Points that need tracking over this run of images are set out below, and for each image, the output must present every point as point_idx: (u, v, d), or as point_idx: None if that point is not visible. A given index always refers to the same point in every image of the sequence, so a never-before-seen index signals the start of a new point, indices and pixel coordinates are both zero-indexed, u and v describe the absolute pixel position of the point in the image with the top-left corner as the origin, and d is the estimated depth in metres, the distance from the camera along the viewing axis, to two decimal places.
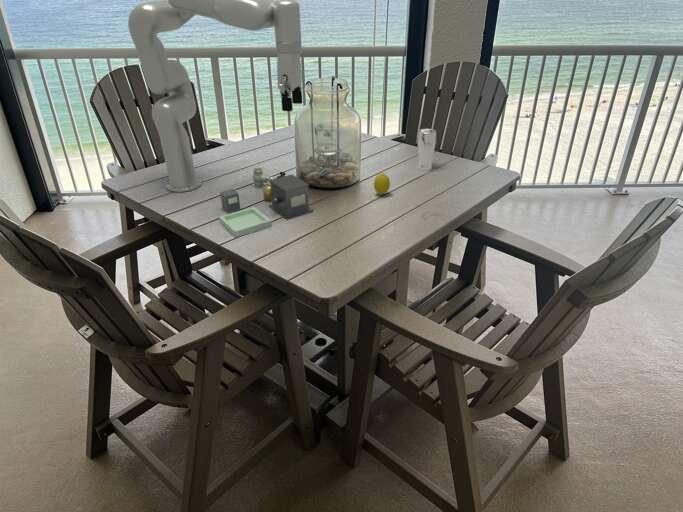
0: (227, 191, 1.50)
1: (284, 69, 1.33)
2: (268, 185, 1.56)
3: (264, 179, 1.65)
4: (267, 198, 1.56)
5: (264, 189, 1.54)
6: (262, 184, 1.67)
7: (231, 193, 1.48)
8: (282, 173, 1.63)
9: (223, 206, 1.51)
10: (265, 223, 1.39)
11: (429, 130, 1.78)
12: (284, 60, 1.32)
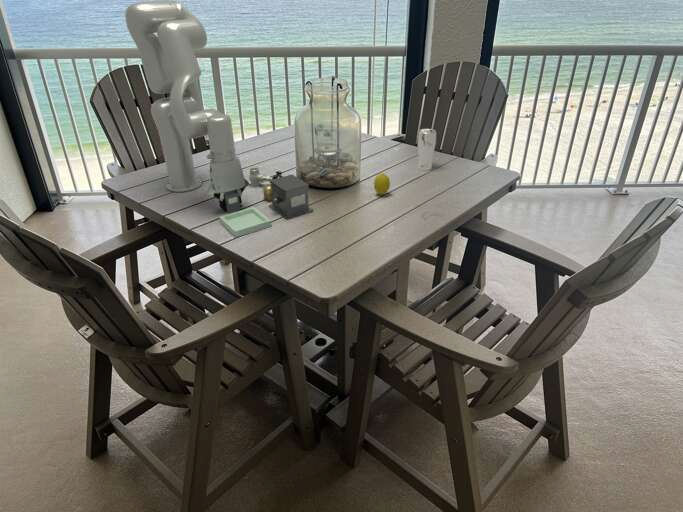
0: None
1: None
2: (268, 185, 1.56)
3: (260, 179, 1.65)
4: (267, 198, 1.56)
5: (264, 189, 1.54)
6: (258, 184, 1.68)
7: (231, 193, 1.48)
8: (278, 172, 1.63)
9: None
10: (265, 223, 1.39)
11: (429, 130, 1.78)
12: None
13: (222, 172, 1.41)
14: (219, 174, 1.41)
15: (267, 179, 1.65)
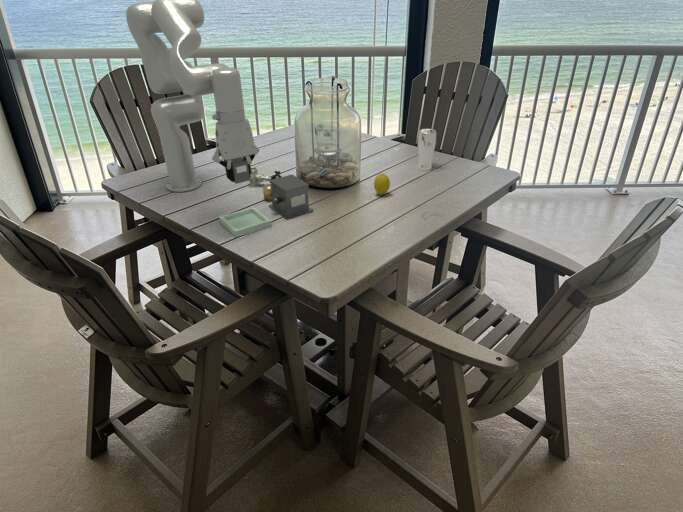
0: (235, 159, 1.32)
1: None
2: (268, 185, 1.56)
3: (259, 178, 1.65)
4: (267, 198, 1.56)
5: (265, 189, 1.54)
6: (257, 183, 1.68)
7: (239, 161, 1.31)
8: (277, 172, 1.63)
9: None
10: (265, 223, 1.39)
11: (429, 130, 1.78)
12: None
13: (230, 136, 1.24)
14: (226, 137, 1.24)
15: (266, 179, 1.65)
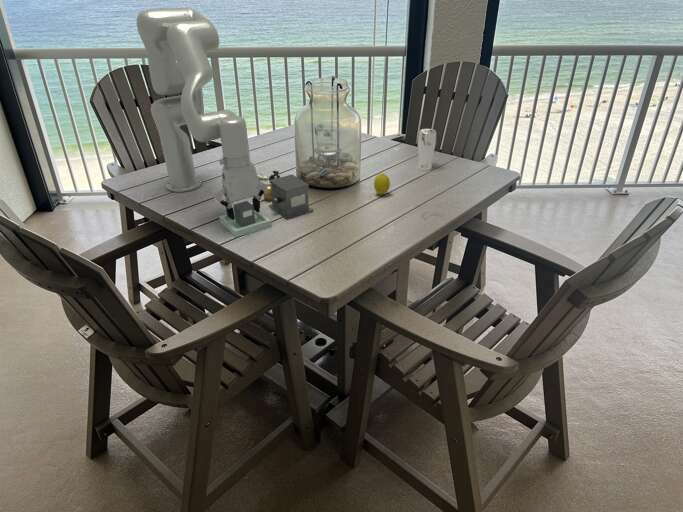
0: (241, 203, 1.40)
1: None
2: (268, 185, 1.56)
3: None
4: (267, 198, 1.56)
5: None
6: None
7: (246, 206, 1.38)
8: (275, 172, 1.64)
9: (237, 219, 1.41)
10: (265, 223, 1.39)
11: (429, 130, 1.78)
12: None
13: (236, 179, 1.31)
14: (232, 181, 1.30)
15: (264, 178, 1.66)
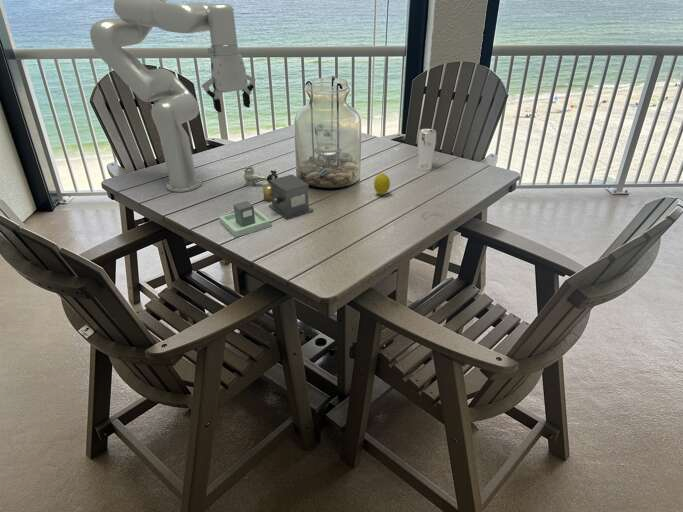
0: (241, 203, 1.40)
1: None
2: (268, 185, 1.56)
3: (255, 178, 1.66)
4: (267, 198, 1.56)
5: (264, 189, 1.54)
6: (253, 183, 1.68)
7: (246, 206, 1.38)
8: (273, 172, 1.64)
9: (237, 219, 1.41)
10: (265, 223, 1.39)
11: (429, 130, 1.78)
12: None
13: (224, 68, 1.35)
14: (221, 70, 1.35)
15: (262, 178, 1.66)
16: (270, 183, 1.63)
